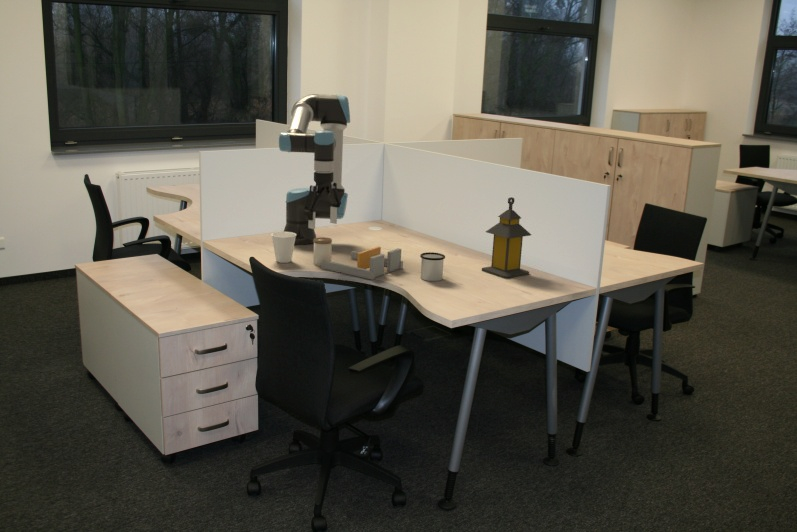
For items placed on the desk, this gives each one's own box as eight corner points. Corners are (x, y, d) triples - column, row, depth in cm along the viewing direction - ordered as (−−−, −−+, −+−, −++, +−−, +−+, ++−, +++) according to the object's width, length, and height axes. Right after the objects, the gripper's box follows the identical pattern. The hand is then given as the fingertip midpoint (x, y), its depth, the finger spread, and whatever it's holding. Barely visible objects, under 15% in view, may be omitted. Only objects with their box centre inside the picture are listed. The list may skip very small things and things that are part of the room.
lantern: (480, 270, 297) (485, 195, 289) (505, 265, 305) (511, 193, 298) (505, 279, 286) (511, 202, 278) (530, 274, 295) (537, 199, 287)
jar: (320, 260, 301) (321, 236, 299) (335, 263, 298) (335, 239, 295) (309, 264, 295) (309, 239, 293) (323, 267, 292) (324, 242, 289)
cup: (272, 257, 302) (272, 231, 299) (296, 258, 303) (297, 231, 300) (270, 264, 293) (270, 236, 290) (295, 264, 294) (295, 237, 291)
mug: (436, 283, 276) (437, 259, 274) (414, 278, 281) (415, 255, 279) (451, 276, 286) (452, 253, 284) (430, 272, 291) (431, 249, 289)
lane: (353, 258, 307) (353, 239, 305) (402, 268, 295) (403, 248, 293) (321, 268, 290) (321, 248, 288) (372, 279, 278) (373, 258, 276)
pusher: (377, 263, 297) (378, 246, 295) (397, 267, 292) (397, 250, 290) (357, 270, 285) (357, 253, 283) (376, 275, 280) (377, 257, 279)
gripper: (335, 167, 299) (334, 219, 304) (295, 173, 279) (294, 229, 284) (350, 169, 295) (349, 222, 301) (310, 175, 275) (310, 232, 280)
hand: (322, 225), depth 292 cm, fingers open, 13 cm apart
